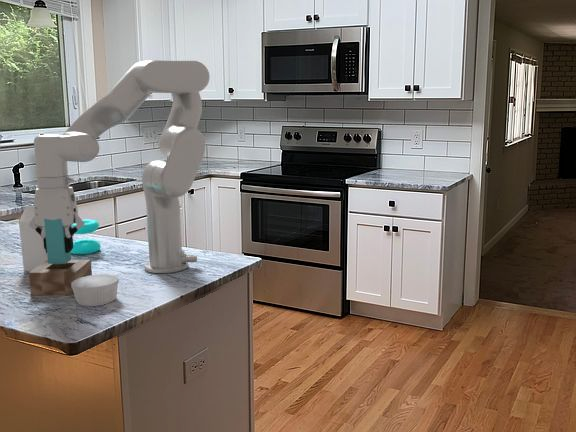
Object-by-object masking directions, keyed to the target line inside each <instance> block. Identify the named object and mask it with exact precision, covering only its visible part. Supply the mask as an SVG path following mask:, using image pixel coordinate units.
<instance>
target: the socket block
mask: <svg viewBox="0 0 576 432" xmlns="http://www.w3.org/2000/svg"><path fill="white" fill-rule="evenodd" d="M92 270H93V269H92V260H91V259H71V260H70V261H68V262H67V263H66V264H48V260H47V261H45V262H44V263H42V264H41V265H39V266H38V267H36V268H35V269H33V270H32V271H30V272H29V271H28V279H29V281H28V282H29V290H30V296H70V295H71V296H75V295H74V292H73V289H72V287H71V283H72V282H73V281H74V280H76V279H79V278H82V277H85V276H90V275H93V273H92Z"/></svg>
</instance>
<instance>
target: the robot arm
mask: <svg viewBox="0 0 576 432" xmlns="http://www.w3.org/2000/svg"><path fill="white" fill-rule="evenodd" d="M209 83H210V72H209V70H208V68H207V66H206V65H205V64H204V63H203V62H201V61H197V60H156V59H155V60H154V59H153V60H152V59H151V60H142V61H139V62H136V63H135V64H133V65H132V66H131V67H130V68H129V69H128V70H127V71H126V72H125V74H123V75H122V77H121V78H120V79H119V80H118V81H117V82H116V83H115V84H114V85H113V86H112V88H110V90H109V91H107V92H106V93H105V94H104V95H103V97H101V98H100V99H99V100H97V101H96V102H95V103H94V104H93V105H92V106H91V107H90V108H88V109H87V110H86V111H84V112H83V113H82V114H81V115H80V116H79V117H78V118H76V119H75V121H73V122H72V123H71V125H70V126H69V127H68V128H67V129H66V130H65V132H63V134H55V133H54V134H53V133H51V134H39V135H36V136H35V137H34V139H33V146H34V147H33V148H34V149H33V150H34V159H35V169H36V181H37V183H36V184H37V188H36V189H35V190H34V191H35V193H34V201H33V203H34V204H33V206H34V217H33V219H32V220H31V222H30V223H29V227H31V228H32V229H34V230H36V232H37V233H39V234H40V235H41V237H42V238H43V242H44V249H46V253H47V246H46V235H45V224H44V219H49V220H56V219H62V226H63V227H64V232H65V235H66V238H65V239H64V240H65V252H66V253H69V252H70V251H72V249H73V242H74V240H73V239H74V237H73V236H74V235H76V234H75V233H76V232H77V231H78V230H79V229H80V228H81V227H83V226H84V225H85V223H84V222H83V221H82V220H83V219H82V218H81V217H80V216H79V211H78V204H77V200H76V195H75V194H76V193H75V192H74V189H73V186H70V185H71V184H74V183H75V179H74V178H72V177H70V175H69V172H68V169H69V168H68V162H71V163H72V162H73V163H87V162H91V161H92V160H94V159H96V157H98V155H99V153H100V144H99V142H98V140H97V139H98V138H99V137H100V136H101V135H102V134H104V133H105V132H106V131H108V130H109V129H111V128H114V127H116V126H119V125H120V124H122V123H124V122H126V121H127V120H129V119H130V118H131V116H132V115H133V114H135V112H136V111H137V110H138V109H139V108H140V107H141V105H142V104H144V102H145V101H146V100H147V99H148V98H149V97H150V95H152V94H155V93H156V94H157V93H158V94H159V93H160V94H164V93H165V94H171V98H172V106H171V110H170V113H169V115H168V118H167V121H166V123H165V125H164V128H163V130H162V132H161V135H160V139H159V141H158V144H159V145H158V146H159V147H158V148H159V149H160V152H161V153H162V154H163V155H165V156H166V157H167V160H163V159H158V160H153V161H151V162H149V163H148V164H146V166H145V167H144V169H143V171H142V173H141V174H142V175H141V182H142V189H143V193H144V198H145V207H146V225H147V243H148V260H149V261H148V262H146V263H144V270H145V271H146V272H149V273H152V274H171V273H177V272H181V271H184V270H186V269H187V268H188V267H189V263H197V262H198V256H197V255H195V254H186V253H185V249H183V244H182V242H183V241H182V225H181V224H182V223H181V221H182V220H181V207H180V199H179V198H180V197H183V196H185V195H186V194H187V193H188V192H189V190H190V189H191V187H193V186H192V185H193V183H194V181H195V179H196V176H197V174H198V170H199V168H200V166H201V163H202V161H203V157H204V156H205V151H206V140H205V139H206V138H205V137H204V135H203V133H202V132H201V131H200V130H199V129H198V126H199V123H200V119H201V117H202V113H203V103H202V97H201V94H200V92H202V91H203V90H204V89H206V88H207V86H208V84H209ZM73 223H77V225H76V226H75V227H73V228H72V225H73Z"/></svg>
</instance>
